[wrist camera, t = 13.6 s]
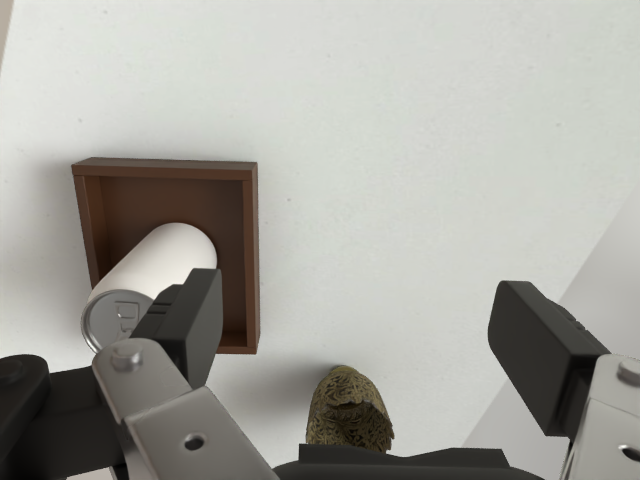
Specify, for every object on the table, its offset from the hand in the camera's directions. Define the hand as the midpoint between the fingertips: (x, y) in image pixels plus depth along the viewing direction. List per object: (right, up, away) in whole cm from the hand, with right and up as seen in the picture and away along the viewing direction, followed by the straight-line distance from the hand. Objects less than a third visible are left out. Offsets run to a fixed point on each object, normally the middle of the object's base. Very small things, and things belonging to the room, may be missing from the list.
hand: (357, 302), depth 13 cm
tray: (-13, +1, +27) cm, 30 cm away
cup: (+1, -12, +32) cm, 34 cm away
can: (-13, +1, +26) cm, 29 cm away
